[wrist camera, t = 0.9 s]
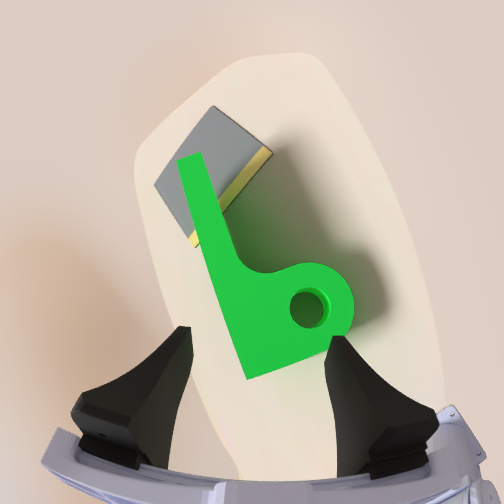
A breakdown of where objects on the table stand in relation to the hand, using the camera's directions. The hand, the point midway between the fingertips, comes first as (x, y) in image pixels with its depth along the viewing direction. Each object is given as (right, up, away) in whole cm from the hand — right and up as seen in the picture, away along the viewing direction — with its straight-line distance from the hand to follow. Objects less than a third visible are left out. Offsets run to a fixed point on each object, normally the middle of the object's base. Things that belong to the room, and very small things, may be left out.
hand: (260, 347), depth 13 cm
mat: (-6, +15, +19) cm, 25 cm away
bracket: (+2, +5, +14) cm, 15 cm away
